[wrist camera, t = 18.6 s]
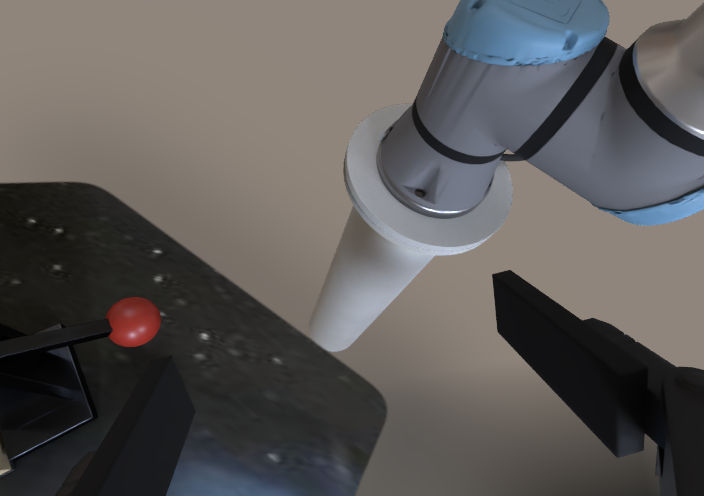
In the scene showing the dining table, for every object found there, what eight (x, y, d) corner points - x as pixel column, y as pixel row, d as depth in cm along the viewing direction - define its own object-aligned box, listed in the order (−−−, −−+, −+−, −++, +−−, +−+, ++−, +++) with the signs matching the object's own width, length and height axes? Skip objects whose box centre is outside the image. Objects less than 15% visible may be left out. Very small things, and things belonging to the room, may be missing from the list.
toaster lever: (140, 308, 35) (157, 284, 33) (157, 347, 34) (176, 325, 32) (-107, 357, 23) (-103, 325, 21) (-94, 421, 22) (-88, 393, 20)
